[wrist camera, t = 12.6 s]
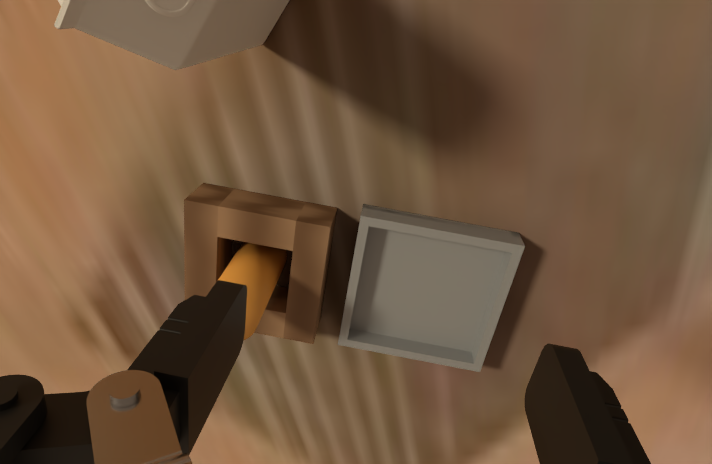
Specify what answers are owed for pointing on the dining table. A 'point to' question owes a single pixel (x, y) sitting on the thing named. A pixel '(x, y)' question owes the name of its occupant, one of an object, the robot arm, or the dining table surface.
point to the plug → (255, 278)
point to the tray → (427, 287)
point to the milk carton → (174, 26)
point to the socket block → (269, 228)
